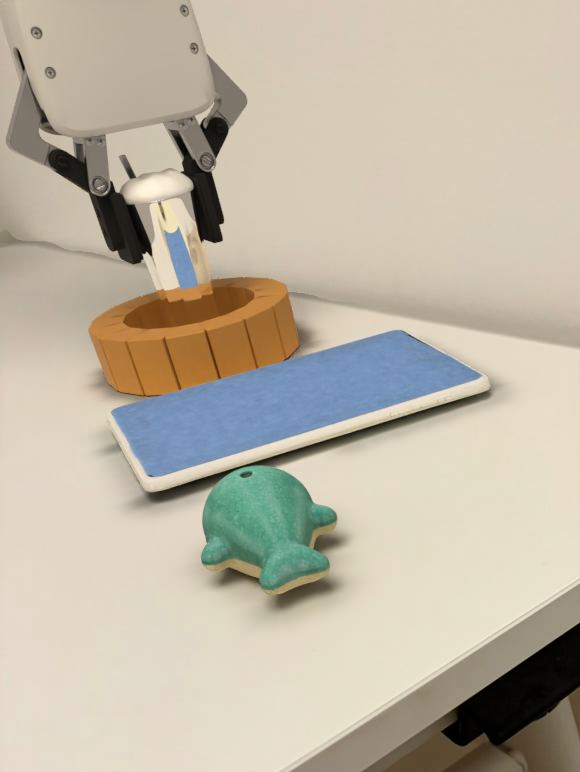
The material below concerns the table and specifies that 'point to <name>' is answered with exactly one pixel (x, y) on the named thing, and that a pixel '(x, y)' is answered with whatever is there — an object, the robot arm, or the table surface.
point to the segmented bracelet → (195, 338)
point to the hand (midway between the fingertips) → (170, 247)
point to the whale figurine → (265, 528)
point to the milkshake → (172, 243)
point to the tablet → (286, 407)
